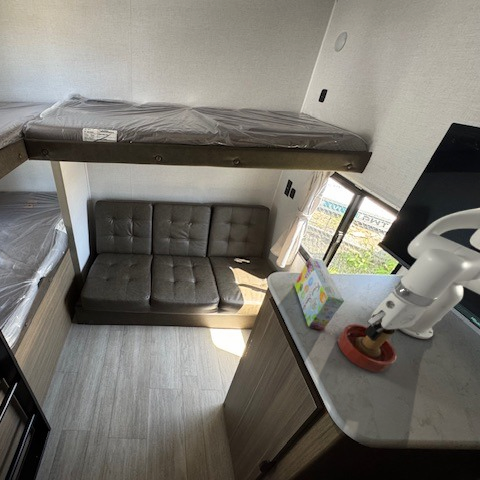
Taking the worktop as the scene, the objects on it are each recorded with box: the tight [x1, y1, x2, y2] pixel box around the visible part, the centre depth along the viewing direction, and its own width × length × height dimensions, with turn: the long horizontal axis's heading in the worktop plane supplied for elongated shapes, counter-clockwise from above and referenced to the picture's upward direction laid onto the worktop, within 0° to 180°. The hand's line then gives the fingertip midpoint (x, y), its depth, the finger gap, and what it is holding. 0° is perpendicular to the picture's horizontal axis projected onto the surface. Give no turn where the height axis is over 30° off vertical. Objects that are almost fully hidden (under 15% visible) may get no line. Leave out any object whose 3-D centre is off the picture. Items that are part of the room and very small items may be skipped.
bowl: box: [337, 323, 397, 373], centre depth 79 cm, size 13×13×5 cm
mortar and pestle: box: [353, 322, 394, 360], centre depth 74 cm, size 7×6×18 cm
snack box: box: [294, 257, 345, 331], centre depth 91 cm, size 21×6×15 cm, turn 168°
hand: (376, 335), depth 75 cm, fingers closed on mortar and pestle, 3 cm apart
